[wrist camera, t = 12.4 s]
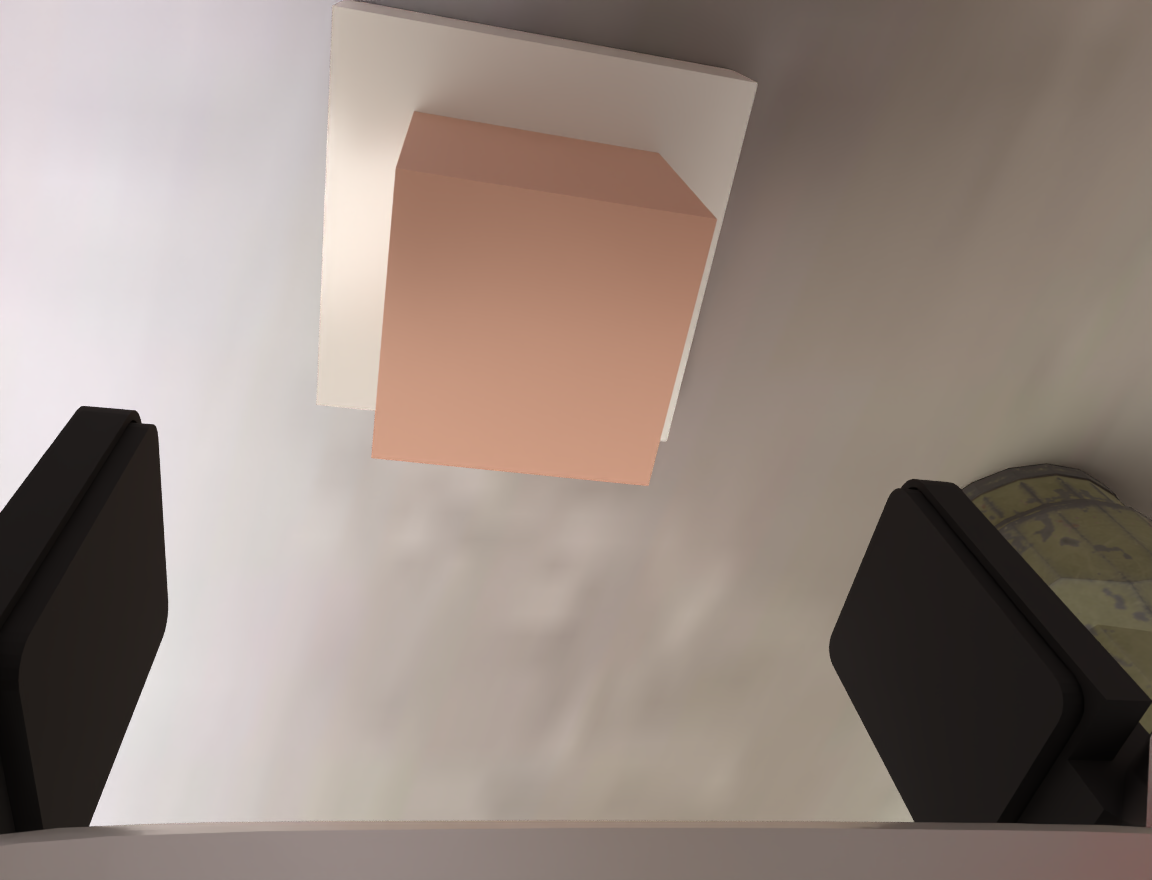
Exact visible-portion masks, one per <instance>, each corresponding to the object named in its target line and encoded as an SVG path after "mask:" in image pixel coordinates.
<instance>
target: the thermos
mask: <svg viewBox="0 0 1152 880" xmlns="http://www.w3.org/2000/svg"><path fill="white" fill-rule="evenodd" d="M962 491H963V492H964V493H965V494H966V496H967V497H968V498H969V499H970V500H971V501H972V502H973V503H974V504H975V506H976V507H977V508H978V509H979V510H980V511H981V512H982V513H983V514H984V515H985V517H986V518H987V519H988V520H989V521H990V522H991V523H992V524H993V525H994V527H995V528H996V529H997V530H998V531H999V532H1000V533H1001V534H1002V535H1003V536H1004V538H1005V539H1006V540H1007V541H1008V542H1009V543H1010V544H1011V545H1012V546H1013V547H1014V549H1015V550H1016V551H1017V552H1018V553H1019V554H1020V555H1021V556H1022V557H1023V559H1024V560H1025V561H1026V562H1027V563H1028V564H1029V565H1030V566H1031V567H1032V568H1033V570H1034V571H1035V572H1036V573H1037V574H1038V575H1039V576H1040V577H1041V578H1042V579H1043V581H1044V582H1045V583H1046V584H1047V585H1048V586H1049V587H1050V588H1051V589H1052V591H1053V592H1054V593H1055V594H1056V595H1057V596H1058V597H1059V598H1060V599H1061V600H1062V602H1063V603H1064V604H1065V605H1066V606H1067V607H1068V608H1069V609H1070V610H1071V611H1072V613H1073V614H1074V615H1075V616H1076V617H1077V618H1078V619H1079V620H1080V621H1081V623H1082V624H1083V625H1084V626H1085V627H1086V628H1087V629H1088V630H1089V631H1090V632H1091V634H1092V635H1093V636H1094V637H1095V638H1096V639H1097V640H1098V641H1099V642H1100V643H1101V645H1102V646H1103V647H1104V648H1105V649H1106V650H1107V651H1108V652H1109V653H1110V655H1111V656H1112V657H1113V658H1114V659H1115V660H1116V661H1117V662H1118V663H1119V664H1120V666H1121V667H1122V668H1123V669H1124V670H1125V671H1126V672H1127V673H1128V674H1129V675H1130V677H1131V678H1132V679H1133V680H1134V681H1135V682H1136V683H1137V684H1138V685H1139V687H1140V688H1141V689H1142V690H1143V691H1144V692H1145V693H1146V694H1147V695H1148V696H1149V698H1150V699H1151V700H1152V520H1150V519H1149V518H1147V517H1145V516H1144V515H1142V514H1141V513H1139V512H1137V511H1136V510H1134V509H1132V508H1131V507H1126V506H1125V505H1124V504H1122V503H1121V502H1120V501H1119V500H1118V498H1117V497H1116V495H1115V494H1114V493H1113V492H1112V491H1111V490H1110V489H1109V488H1107V487H1106V486H1105V485H1104V484H1102V483H1101V482H1099V481H1097V480H1096V479H1094V478H1092V477H1091V476H1089V475H1087V474H1086V473H1084V472H1082V471H1081V470H1079V469H1073V468H1067V467H1061V466H1055V465H1050V464H1042V465H1034V466H1026V467H1018V468H1010V469H1007V470H1004V471H1002V472H999V473H997V474H994V475H992V476H989V477H986V478H984V479H981V480H979V481H976V482H974V483H971V484H970V485H968V486H967V487H965V488H964V489H963V490H962ZM1139 723H1140V724H1141V725H1142V726H1143V727H1144V728H1145V729H1146V731H1147V732H1148V733H1149V734H1150V733H1151V732H1152V703H1151V705H1150V706H1149V708H1148V709H1147V711H1146V712H1145V714H1144V715H1143V717H1142V718H1141V719H1140V721H1139Z"/></svg>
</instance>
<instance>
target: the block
mask: <svg viewBox="0 0 1152 880" xmlns="http://www.w3.org/2000/svg"><path fill="white" fill-rule="evenodd" d="M757 85H758V83H757V82H755V81H753V80H751V79H749V78H747V77H745V76H743V75H741V74H739V73H737V72H735V71H733V70H730V69H724V68H719V67H714V66H708V65H703V64H697V63H692V62H686V61H681V60H675V59H670V58H665V57H659V56H654V55H648V54H643V53H637V52H632V51H626V50H621V49H616V48H610V47H605V46H599V45H594V44H588V43H583V42H577V41H572V40H567V39H561V38H556V37H550V36H545V35H539V34H534V33H528V32H523V31H518V30H512V29H507V28H501V27H496V26H490V25H485V24H479V23H474V22H469V21H463V20H458V19H452V18H447V17H441V16H436V15H430V14H425V13H420V12H414V11H409V10H403V9H398V8H392V7H387V6H381V5H376V4H371V3H365V2H360V1H354V0H343V1H341V2H339V3H337V4H335V5H333V6H332V30H331V55H330V80H329V105H328V129H327V154H326V179H325V204H324V228H323V253H322V278H321V303H320V327H319V352H318V377H317V401H316V405H324V406H333V407H343V408H352V409H362V410H371V411H375V409H376V397H377V385H378V373H379V361H380V349H381V337H382V325H383V313H384V301H385V289H386V277H387V265H388V253H389V241H390V229H391V217H392V205H393V193H394V181H395V169H396V165H397V162H398V159H399V156H400V153H401V150H402V147H403V144H404V141H405V137H406V134H407V131H408V128H409V125H410V122H411V119H412V116H413V113H414V111H416V112H422V113H428V114H434V115H440V116H445V117H451V118H457V119H463V120H469V121H475V122H480V123H486V124H492V125H498V126H504V127H510V128H516V129H521V130H527V131H533V132H539V133H545V134H551V135H557V136H562V137H568V138H574V139H580V140H586V141H592V142H598V143H603V144H609V145H615V146H621V147H627V148H633V149H638V150H644V151H650V152H656V153H659V154H660V155H661V156H662V157H663V158H664V160H665V161H666V162H667V163H668V164H669V165H670V166H671V167H672V169H673V170H674V171H675V172H676V173H677V174H678V175H679V176H680V178H681V179H682V180H683V181H684V182H685V183H686V184H687V186H688V187H689V188H690V189H691V190H692V191H693V192H694V193H695V195H696V196H697V197H698V198H699V199H700V200H701V201H702V203H703V204H704V205H705V206H706V207H707V208H708V209H709V210H710V212H711V213H712V214H713V215H714V216H715V217H716V218H717V222H716V226H715V230H714V234H713V238H712V242H711V245H710V249H709V253H708V257H707V261H706V265H705V269H704V273H703V276H702V280H701V284H700V288H699V292H698V296H697V300H696V303H695V307H694V311H693V315H692V319H691V323H690V327H689V331H688V334H687V338H686V342H685V346H684V350H683V354H682V358H681V361H680V365H679V369H678V373H677V377H676V381H675V385H674V389H673V392H672V396H671V400H670V404H669V408H668V412H667V416H666V419H665V423H664V427H663V431H662V435H661V439H660V441H667V438H668V434H669V430H670V426H671V422H672V418H673V414H674V410H675V406H676V402H677V398H678V395H679V391H680V387H681V383H682V379H683V375H684V371H685V367H686V363H687V359H688V355H689V351H690V348H691V344H692V340H693V336H694V332H695V328H696V324H697V320H698V316H699V312H700V308H701V305H702V301H703V297H704V293H705V289H706V285H707V281H708V277H709V273H710V269H711V265H712V261H713V258H714V254H715V250H716V246H717V242H718V238H719V234H720V230H721V226H722V222H723V218H724V214H725V211H726V207H727V203H728V199H729V195H730V191H731V187H732V183H733V179H734V175H735V171H736V168H737V164H738V160H739V156H740V152H741V148H742V144H743V140H744V136H745V132H746V128H747V124H748V121H749V117H750V113H751V109H752V105H753V101H754V97H755V93H756V89H757Z"/></svg>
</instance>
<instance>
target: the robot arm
mask: <svg viewBox="0 0 1152 880" xmlns="http://www.w3.org/2000/svg"><path fill="white" fill-rule="evenodd" d="M167 617H168V591H167V575H166V558H165V541H164V525H163V508H162V491H161V474H160V458H159V441H158V431H157V428H156V426H155V425H154V424H142V423H141V419H140V416H139V414H138V412H137V411H136V410H124V409H113V408H102V407H90V406H81V407H80V408H79V409H78V410H77V411H76V412H75V414H74V415H73V416H72V418H71V419H70V420H69V422H68V423H67V424H66V426H65V427H64V428H63V430H62V431H61V432H60V434H59V435H58V436H57V438H56V439H55V440H54V442H53V443H52V444H51V446H50V447H49V448H48V450H47V451H46V452H45V454H44V455H43V456H42V458H41V459H40V460H39V462H38V463H37V464H36V466H35V467H34V468H33V470H32V471H31V472H30V474H29V475H28V476H27V478H26V479H25V480H24V482H23V483H22V484H21V486H20V487H19V488H18V490H17V491H16V493H15V494H14V495H13V497H12V498H11V499H10V501H9V502H8V503H7V505H6V506H5V507H4V509H3V510H2V511H1V513H0V880H1152V732H1151V733H1150V734H1149V733H1148V732H1147V731H1146V729H1145V728H1144V727H1143V726H1142V725H1141V724H1140V723H1139V721H1140V719H1141V718H1142V717H1143V715H1144V714H1145V712H1146V711H1147V709H1148V708H1149V706H1150V705H1151V703H1152V700H1151V699H1150V698H1149V696H1148V695H1147V694H1146V693H1145V692H1144V691H1143V690H1142V689H1141V688H1140V687H1139V685H1138V684H1137V683H1136V682H1135V681H1134V680H1133V679H1132V678H1131V677H1130V675H1129V674H1128V673H1127V672H1126V671H1125V670H1124V669H1123V668H1122V667H1121V666H1120V664H1119V663H1118V662H1117V661H1116V660H1115V659H1114V658H1113V657H1112V656H1111V655H1110V653H1109V652H1108V651H1107V650H1106V649H1105V648H1104V647H1103V646H1102V645H1101V643H1100V642H1099V641H1098V640H1097V639H1096V638H1095V637H1094V636H1093V635H1092V634H1091V632H1090V631H1089V630H1088V629H1087V628H1086V627H1085V626H1084V625H1083V624H1082V623H1081V621H1080V620H1079V619H1078V618H1077V617H1076V616H1075V615H1074V614H1073V613H1072V611H1071V610H1070V609H1069V608H1068V607H1067V606H1066V605H1065V604H1064V603H1063V602H1062V600H1061V599H1060V598H1059V597H1058V596H1057V595H1056V594H1055V593H1054V592H1053V591H1052V589H1051V588H1050V587H1049V586H1048V585H1047V584H1046V583H1045V582H1044V581H1043V579H1042V578H1041V577H1040V576H1039V575H1038V574H1037V573H1036V572H1035V571H1034V570H1033V568H1032V567H1031V566H1030V565H1029V564H1028V563H1027V562H1026V561H1025V560H1024V559H1023V557H1022V556H1021V555H1020V554H1019V553H1018V552H1017V551H1016V550H1015V549H1014V547H1013V546H1012V545H1011V544H1010V543H1009V542H1008V541H1007V540H1006V539H1005V538H1004V536H1003V535H1002V534H1001V533H1000V532H999V531H998V530H997V529H996V528H995V527H994V525H993V524H992V523H991V522H990V521H989V520H988V519H987V518H986V517H985V515H984V514H983V513H982V512H981V511H980V510H979V509H978V508H977V507H976V506H975V504H974V503H973V502H972V501H971V500H970V499H969V498H968V497H967V496H966V494H965V493H964V492H963V491H962V490H961V489H960V488H959V487H958V486H957V485H955V484H954V483H950V482H941V481H929V480H918V479H912V480H909V481H907V482H906V483H905V484H904V485H903V486H902V487H901V488H898V489H895V490H894V491H893V492H892V493H891V494H890V496H889V498H888V500H887V502H886V505H885V507H884V510H883V512H882V514H881V517H880V519H879V522H878V524H877V526H876V529H875V531H874V534H873V536H872V538H871V541H870V543H869V546H868V548H867V550H866V553H865V555H864V558H863V560H862V563H861V565H860V567H859V570H858V572H857V575H856V577H855V579H854V582H853V584H852V587H851V589H850V591H849V594H848V596H847V599H846V601H845V604H844V606H843V608H842V611H841V613H840V616H839V618H838V620H837V623H836V625H835V628H834V630H833V632H832V635H831V638H830V644H829V653H830V658H831V662H832V664H833V666H834V668H835V670H836V672H837V674H838V676H839V678H840V680H841V682H842V684H843V686H844V688H845V689H846V691H847V693H848V695H849V697H850V699H851V701H852V703H853V705H854V707H855V709H856V711H857V712H858V714H859V716H860V718H861V720H862V722H863V724H864V726H865V728H866V730H867V732H868V734H869V736H870V737H871V739H872V741H873V743H874V745H875V747H876V749H877V751H878V753H879V755H880V757H881V759H882V760H883V762H884V764H885V766H886V768H887V770H888V772H889V774H890V776H891V778H892V780H893V782H894V783H895V785H896V787H897V789H898V791H899V793H900V795H901V797H902V799H903V801H904V803H905V805H906V807H907V808H908V810H909V812H910V814H911V816H912V818H913V820H914V822H831V821H567V820H548V821H279V822H203V823H166V824H136V825H114V826H91V827H89V825H90V822H91V820H92V817H93V814H94V812H95V809H96V807H97V804H98V802H99V799H100V797H101V794H102V791H103V789H104V786H105V784H106V781H107V779H108V776H109V774H110V771H111V768H112V766H113V763H114V761H115V758H116V756H117V753H118V751H119V748H120V745H121V743H122V740H123V738H124V735H125V733H126V730H127V728H128V725H129V722H130V720H131V717H132V715H133V712H134V710H135V707H136V705H137V702H138V699H139V697H140V694H141V692H142V689H143V687H144V684H145V682H146V679H147V676H148V674H149V671H150V669H151V666H152V664H153V661H154V659H155V656H156V653H157V651H158V648H159V646H160V643H161V641H162V638H163V635H164V632H165V628H166V623H167Z"/></svg>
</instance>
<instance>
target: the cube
mask: <svg viewBox="0 0 1152 880" xmlns="http://www.w3.org/2000/svg"><path fill="white" fill-rule="evenodd" d="M716 222H717V218H716V217H715V216H714V215H713V214H712V213H711V212H710V210H709V209H708V208H707V207H706V206H705V205H704V204H703V203H702V201H701V200H700V199H699V198H698V197H697V196H696V195H695V193H694V192H693V191H692V190H691V189H690V188H689V187H688V186H687V184H686V183H685V182H684V181H683V180H682V179H681V178H680V176H679V175H678V174H677V173H676V172H675V171H674V170H673V169H672V167H671V166H670V165H669V164H668V163H667V162H666V161H665V160H664V158H663V157H662V156H661V155H660V154H659V153H656V152H650V151H644V150H638V149H633V148H627V147H621V146H615V145H609V144H603V143H598V142H592V141H586V140H580V139H574V138H568V137H562V136H557V135H551V134H545V133H539V132H533V131H527V130H521V129H516V128H510V127H504V126H498V125H492V124H486V123H480V122H475V121H469V120H463V119H457V118H451V117H445V116H440V115H434V114H428V113H422V112H416V111H414V113H413V116H412V119H411V122H410V125H409V128H408V131H407V134H406V137H405V141H404V144H403V147H402V150H401V153H400V156H399V159H398V162H397V165H396V169H395V181H394V193H393V205H392V217H391V229H390V241H389V253H388V265H387V277H386V289H385V301H384V313H383V325H382V337H381V349H380V361H379V373H378V385H377V397H376V409H375V421H374V433H373V445H372V457H371V458H377V459H386V460H396V461H406V462H416V463H426V464H436V465H446V466H456V467H466V468H475V469H485V470H495V471H505V472H515V473H525V474H535V475H545V476H555V477H564V478H574V479H584V480H594V481H604V482H614V483H624V484H634V485H643V486H648V485H649V481H650V477H651V474H652V470H653V466H654V462H655V458H656V454H657V450H658V447H659V443H660V439H661V435H662V431H663V427H664V423H665V419H666V416H667V412H668V408H669V404H670V400H671V396H672V392H673V389H674V385H675V381H676V377H677V373H678V369H679V365H680V361H681V358H682V354H683V350H684V346H685V342H686V338H687V334H688V331H689V327H690V323H691V319H692V315H693V311H694V307H695V303H696V300H697V296H698V292H699V288H700V284H701V280H702V276H703V273H704V269H705V265H706V261H707V257H708V253H709V249H710V245H711V242H712V238H713V234H714V230H715V226H716Z"/></svg>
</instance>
